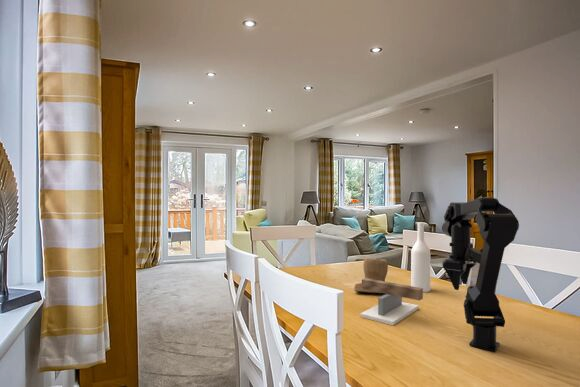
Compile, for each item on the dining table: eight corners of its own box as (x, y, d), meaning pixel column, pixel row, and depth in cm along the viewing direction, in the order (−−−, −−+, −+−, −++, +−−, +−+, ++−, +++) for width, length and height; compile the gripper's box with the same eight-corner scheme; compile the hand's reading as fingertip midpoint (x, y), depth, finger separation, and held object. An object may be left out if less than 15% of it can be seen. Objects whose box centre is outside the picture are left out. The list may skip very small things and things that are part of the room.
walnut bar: (361, 288, 132) (361, 279, 132) (365, 287, 134) (365, 277, 134) (419, 300, 118) (419, 290, 118) (422, 298, 120) (422, 288, 120)
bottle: (431, 292, 151) (431, 223, 151) (411, 291, 153) (411, 223, 153) (429, 287, 159) (429, 222, 159) (410, 286, 161) (410, 221, 161)
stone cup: (388, 288, 157) (388, 255, 157) (391, 296, 146) (391, 260, 146) (354, 287, 160) (354, 254, 160) (354, 294, 149) (354, 259, 149)
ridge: (393, 325, 114) (393, 304, 114) (360, 316, 122) (360, 296, 122) (418, 308, 130) (418, 289, 130) (388, 302, 138) (388, 284, 138)
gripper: (480, 245, 104) (480, 298, 104) (494, 239, 118) (494, 285, 118) (441, 242, 111) (441, 291, 111) (459, 236, 125) (459, 280, 125)
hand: (460, 286), depth 116 cm, fingers open, 9 cm apart
